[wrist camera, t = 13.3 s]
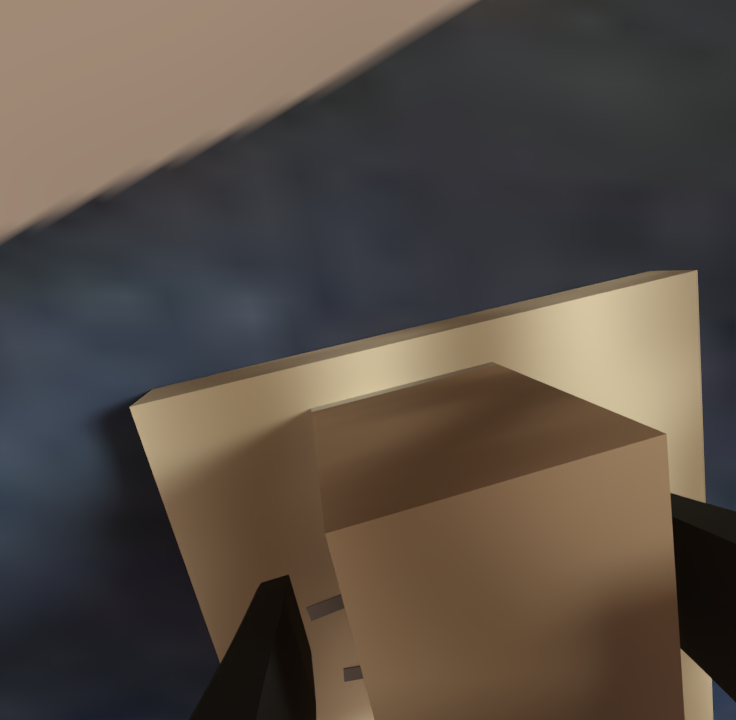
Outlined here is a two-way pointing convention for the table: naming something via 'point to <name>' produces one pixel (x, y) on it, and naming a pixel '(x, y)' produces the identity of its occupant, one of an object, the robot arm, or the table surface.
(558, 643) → the block
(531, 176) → the table surface
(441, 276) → the table surface
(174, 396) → the board
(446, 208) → the table surface
